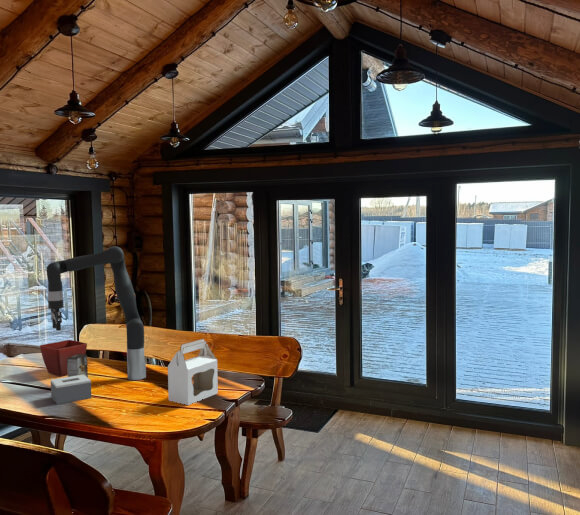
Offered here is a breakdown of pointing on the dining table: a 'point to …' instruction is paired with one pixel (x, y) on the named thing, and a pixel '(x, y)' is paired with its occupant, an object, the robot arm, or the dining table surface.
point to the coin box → (70, 389)
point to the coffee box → (77, 365)
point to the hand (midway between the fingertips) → (56, 329)
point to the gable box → (185, 369)
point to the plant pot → (60, 355)
